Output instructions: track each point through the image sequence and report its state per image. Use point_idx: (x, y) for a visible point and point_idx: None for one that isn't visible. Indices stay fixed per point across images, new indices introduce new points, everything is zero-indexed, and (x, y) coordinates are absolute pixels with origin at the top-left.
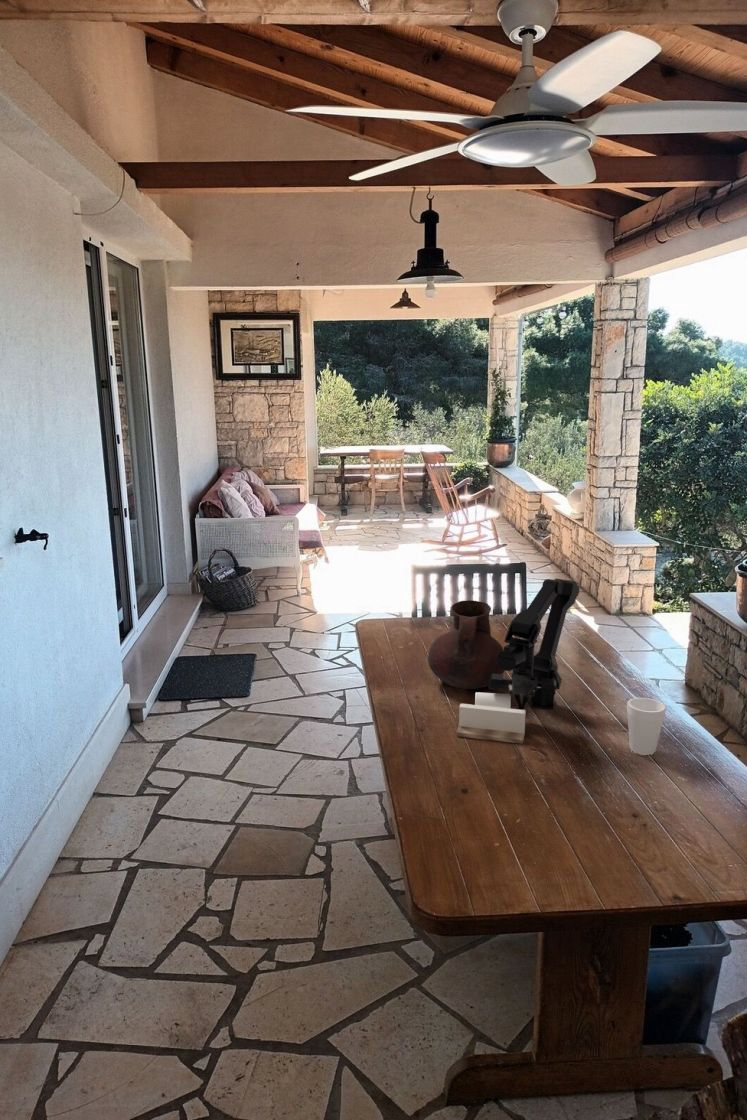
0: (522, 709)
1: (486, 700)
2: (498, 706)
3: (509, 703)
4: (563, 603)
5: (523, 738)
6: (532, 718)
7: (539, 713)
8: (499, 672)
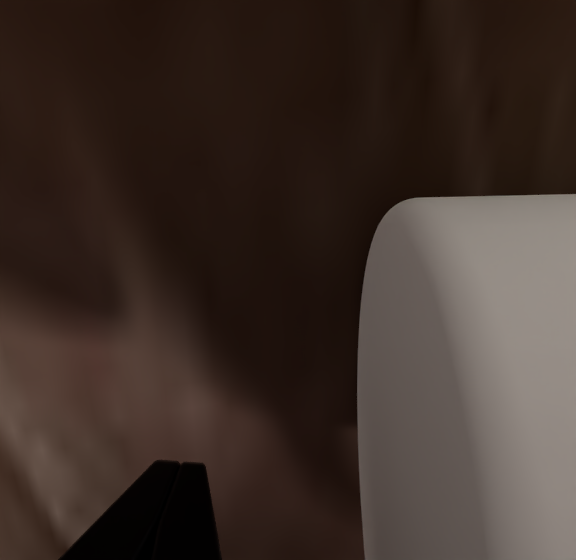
0: (137, 497)
1: None
2: None
3: (563, 523)
4: None
5: None
6: (73, 443)
7: (23, 552)
8: None
